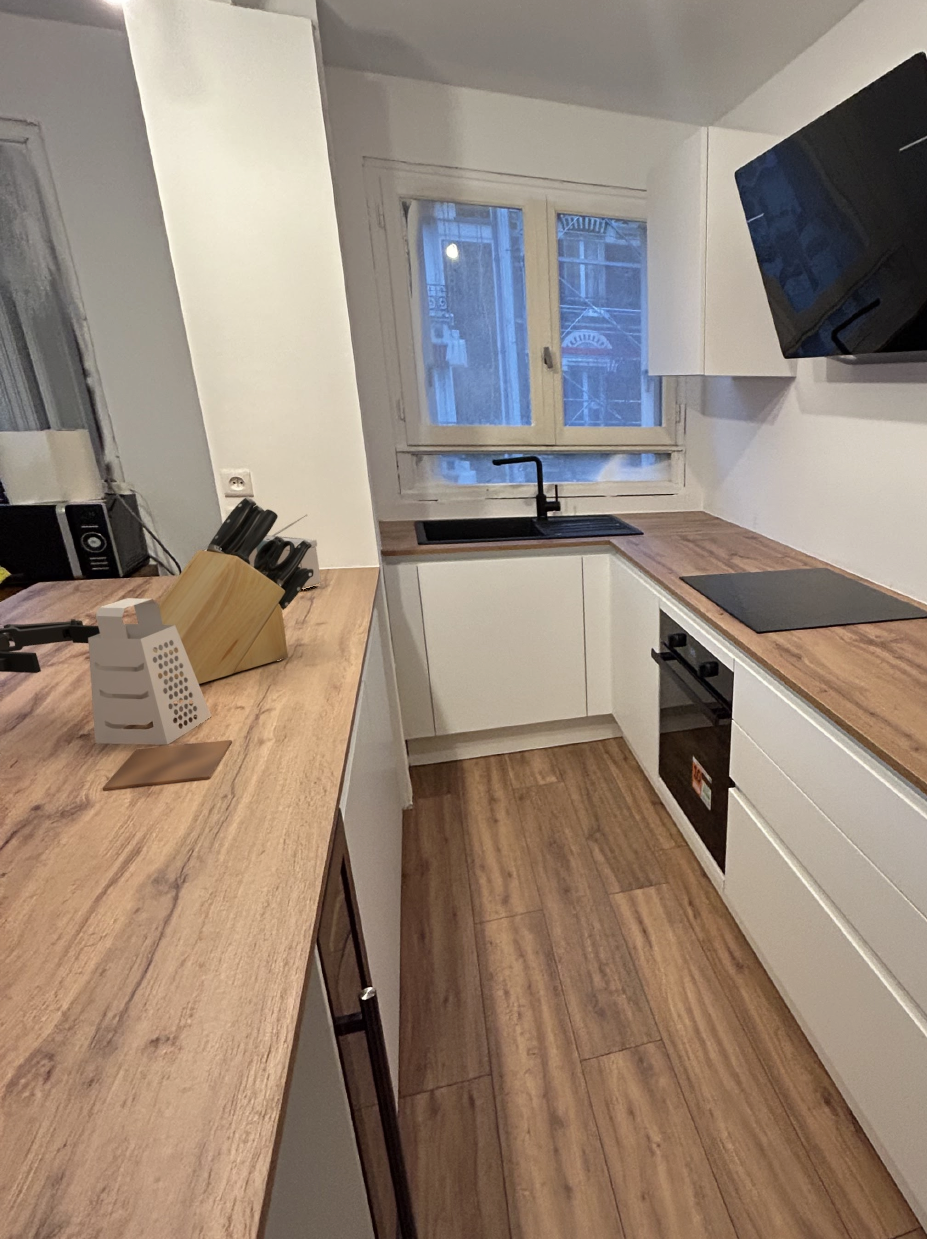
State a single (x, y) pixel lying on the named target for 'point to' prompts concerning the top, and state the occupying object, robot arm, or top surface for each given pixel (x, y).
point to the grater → (141, 677)
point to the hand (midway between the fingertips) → (77, 648)
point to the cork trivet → (169, 764)
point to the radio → (307, 562)
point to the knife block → (235, 596)
